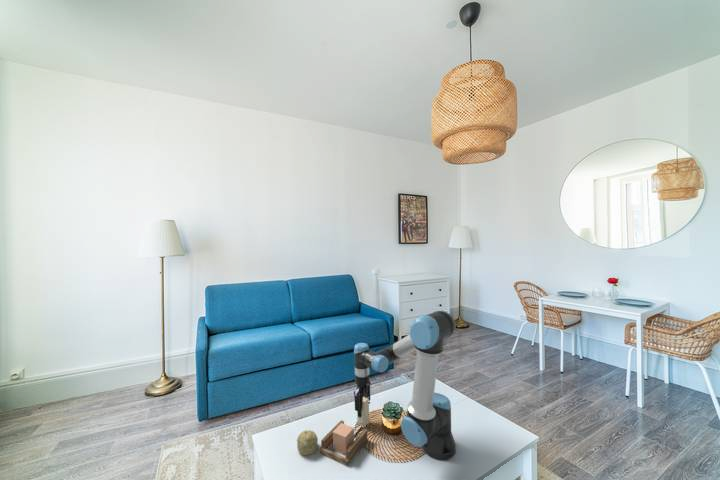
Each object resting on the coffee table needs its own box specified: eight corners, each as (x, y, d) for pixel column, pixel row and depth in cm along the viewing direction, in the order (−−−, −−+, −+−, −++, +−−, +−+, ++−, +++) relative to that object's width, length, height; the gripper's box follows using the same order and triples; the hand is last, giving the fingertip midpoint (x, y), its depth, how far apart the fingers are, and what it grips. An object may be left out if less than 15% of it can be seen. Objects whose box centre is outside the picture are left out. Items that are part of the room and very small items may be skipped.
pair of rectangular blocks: (371, 423, 144) (370, 398, 144) (345, 455, 124) (345, 426, 124) (359, 419, 148) (359, 395, 148) (333, 449, 127) (332, 421, 127)
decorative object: (296, 455, 129) (289, 446, 123) (307, 432, 136) (301, 422, 131) (313, 463, 125) (307, 454, 120) (323, 439, 132) (318, 429, 127)
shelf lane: (367, 440, 132) (367, 429, 132) (347, 466, 118) (347, 454, 118) (341, 429, 140) (341, 420, 140) (319, 452, 125) (319, 441, 125)
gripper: (364, 365, 153) (365, 407, 153) (346, 380, 138) (347, 426, 138) (376, 368, 149) (377, 412, 149) (359, 383, 134) (360, 431, 134)
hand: (363, 419), depth 144 cm, fingers closed on pair of rectangular blocks, 4 cm apart
